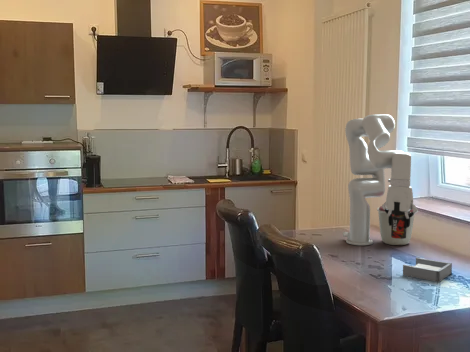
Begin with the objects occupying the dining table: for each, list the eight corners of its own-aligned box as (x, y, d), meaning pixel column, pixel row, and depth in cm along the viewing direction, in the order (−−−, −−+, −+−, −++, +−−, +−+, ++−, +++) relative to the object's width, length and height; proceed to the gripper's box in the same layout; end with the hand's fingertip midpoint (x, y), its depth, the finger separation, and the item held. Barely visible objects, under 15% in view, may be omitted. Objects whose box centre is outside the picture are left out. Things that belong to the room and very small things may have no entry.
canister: (418, 248, 251) (419, 203, 249) (378, 247, 254) (379, 202, 252) (411, 239, 269) (413, 197, 267) (374, 238, 272) (375, 196, 269)
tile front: (426, 276, 210) (426, 268, 210) (430, 273, 214) (430, 265, 213) (439, 278, 207) (439, 271, 206) (443, 275, 211) (443, 268, 210)
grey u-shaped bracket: (402, 275, 211) (403, 265, 210) (416, 266, 222) (416, 257, 221) (438, 282, 202) (439, 271, 202) (451, 273, 213) (451, 263, 212)
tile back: (413, 273, 213) (413, 266, 213) (418, 270, 217) (418, 263, 217) (426, 276, 210) (426, 268, 210) (430, 272, 214) (431, 265, 214)
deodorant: (407, 236, 223) (409, 200, 221) (404, 239, 218) (405, 202, 216) (393, 234, 226) (394, 199, 224) (389, 237, 221) (390, 201, 219)
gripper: (376, 182, 222) (375, 225, 224) (417, 186, 211) (415, 231, 213) (384, 180, 227) (383, 221, 230) (425, 183, 216) (423, 227, 219)
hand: (399, 225), depth 222 cm, fingers closed on deodorant, 5 cm apart
